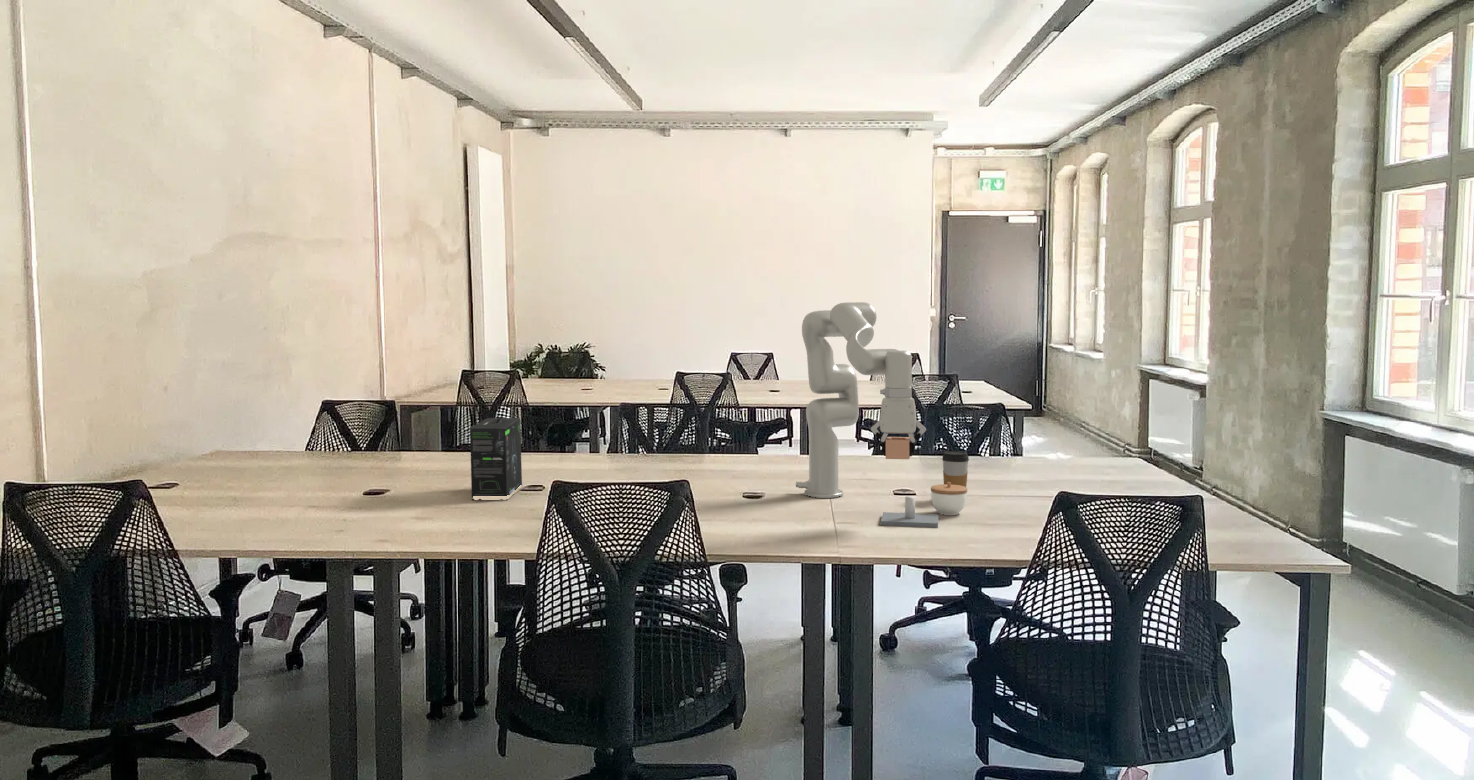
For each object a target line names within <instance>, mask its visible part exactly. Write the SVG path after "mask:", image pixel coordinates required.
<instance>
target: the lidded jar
mask: <svg viewBox="0 0 1474 780" xmlns="http://www.w3.org/2000/svg"><path fill="white" fill-rule="evenodd" d="M967 493H968V488H967V486H966V487H964V486H960V485H951V482H947V484H944V483H943V484H935V485H932V486H931V487H930V498H931V503H932V506H933V508H934V509H935V510H936V511H937V513H938V512H939V513H940V514H939V513H938V514H939V515H943V514H944V516H955V515H956V516H957V515H960V512H962V510H963V509H964V508H965V506H966V505H967V504H966V503H967V497H968V494H967Z"/></svg>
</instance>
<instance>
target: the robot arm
mask: <svg viewBox="0 0 1474 780" xmlns="http://www.w3.org/2000/svg"><path fill="white" fill-rule="evenodd" d="M876 321H877V313H876V310H875V308H874V306H873V305H871V304H870V303H868V302H863V301H860V302H858V301H857V302H853V301H851V302H850V301H849V302H840V303H837V304H836V305H834V306H833V307H832V308H831V310H828V309H827V310H826V309H825V310H816V311H815V310H814V311H811V312H809V313H807V314H806V315H805V316H804V318H803V320H802V323H801V324H802V325H801V335H802V339H803V340H802V341H803V343H804V346H805V350H806V357H807V358H806V360H807V375H808V385H809V389H810V391H811V392H812V393H814V394H816V395H831V394H832V395H834V394H838V397H821V398H816V399H813V400H810V402H808V404H807V406H806V408H805V413H806V414H805V415H806V421H807V427H808V442H809V443H808V449H809V450H808V453H809V454H808V455H809V456H808V459H809V460H808V468H809V469H808V480H805V481H796V482H795V488H798V489H805V490H804V491H803V492H804V493H803V494H804V495H805V496H806V495H808V496H807V497H809V496H811V497H810V498H815V497H816V499H817V498H818V499H833V498H839V496H840V497H842V496H843V495H844V491H843V490H842V489H840V488H839V439H838V436H837V434H835V432H834V431H833V430H834V429H833V428H836V427H837V428H838V427H840V428H841V427H851V426H854V425H855V424H857V422H858V419H859V416H860V407H859V404H860V403H859V391H858V388H859V387H858V379H857V374H856V372H855V370H856V371H857V372H858V373H860V374H861V375H864V376H877V375H880V376H881V375H883V376H884V382H885V383H884V388H883V389H880V390H879V395H884V397H883V398H882V400H881V405H880V406H881V407H880V417H879V418H880V419H879V420H878V421H877V422H876V423H875V424H874V425H872V426H871V427H870V431H871V432H872V433H873V434H874V435H875V437H876V438H877V439H878V440H880V442H881V453H882V454H883V456H885V457H886V438H887V437H888V435H889V434H894V435H895V434H897V435H899V434H901V435H905V434H906V435H908V437H909V438H910V443H909V456H910V458H911V457H913V454H915V451H916V449H915V447H916V442H917V440H919V439H920V437H922V435H923V434H924V433H926V431H927V428H926V427H925V426H924V425H923V424H922V423H921V422H920V421H919V420H917V412H916V411H917V410H916V403H915V398H913V397H912V396H913V395H912V393H913V391H912V390H913V389H912V386H913V385H912V384H913V383H912V381H913V380H912V378H913V374H912V373H913V372H912V371H913V364H912V363H913V359H912V358H913V356H912V353H911V352H910V351H908V350H899V349H895V348H872V349H871V348H869V349H866V348H865V347H867V346H868V345H869V344H870V343H871V341H872V340H873V338H874V336H875V330H874V328H873V327H874V326H875V325H876ZM830 337H831V338H834V337H837V338H838V337H839V338H840V337H842V338H844V339H845V340H846V341H847V342H846V347H845V348H846V349H845V350H846V356H847V360H848V362H849V363H850V365H849V364H846V363H838V364H837V363H836V364H835V361H834V360H835V359H834V351H833V347H832V346H831V345H830V343H829V341H827V339H826V338H830ZM854 369H855V370H854ZM878 428H879V430H880V431H879V430H878ZM917 428H918V429H919V431H918V432H917V433H916V434H914V433H915V432H916V429H917ZM882 433H883V434H882Z"/></svg>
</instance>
